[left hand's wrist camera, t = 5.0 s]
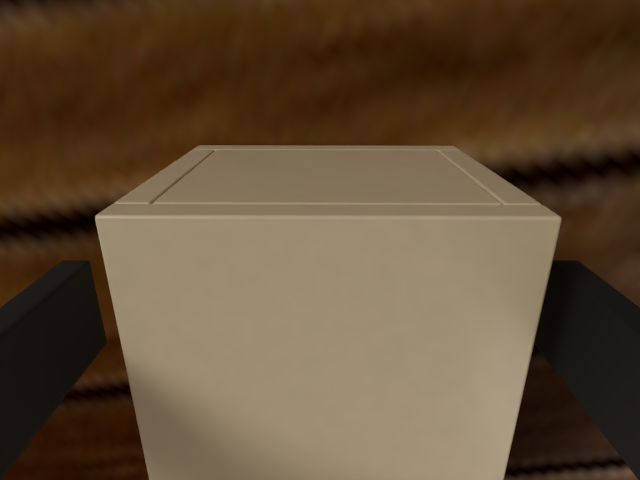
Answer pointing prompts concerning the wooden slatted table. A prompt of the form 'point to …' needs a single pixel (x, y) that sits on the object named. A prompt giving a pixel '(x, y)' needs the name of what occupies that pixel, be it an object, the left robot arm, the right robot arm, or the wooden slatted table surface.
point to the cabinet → (327, 312)
